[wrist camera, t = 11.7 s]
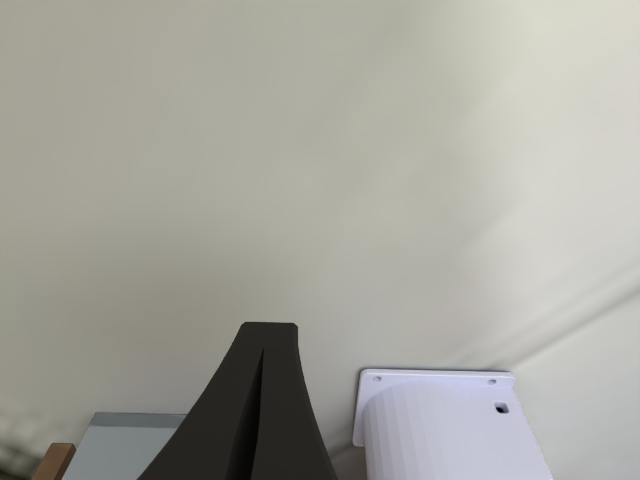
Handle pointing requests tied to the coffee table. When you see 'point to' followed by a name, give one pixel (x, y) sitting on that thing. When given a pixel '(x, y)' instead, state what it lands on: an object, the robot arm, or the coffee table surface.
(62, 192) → the coffee table surface
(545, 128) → the coffee table surface
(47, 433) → the coffee table surface
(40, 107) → the coffee table surface
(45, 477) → the wooden slatted crate
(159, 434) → the tray
